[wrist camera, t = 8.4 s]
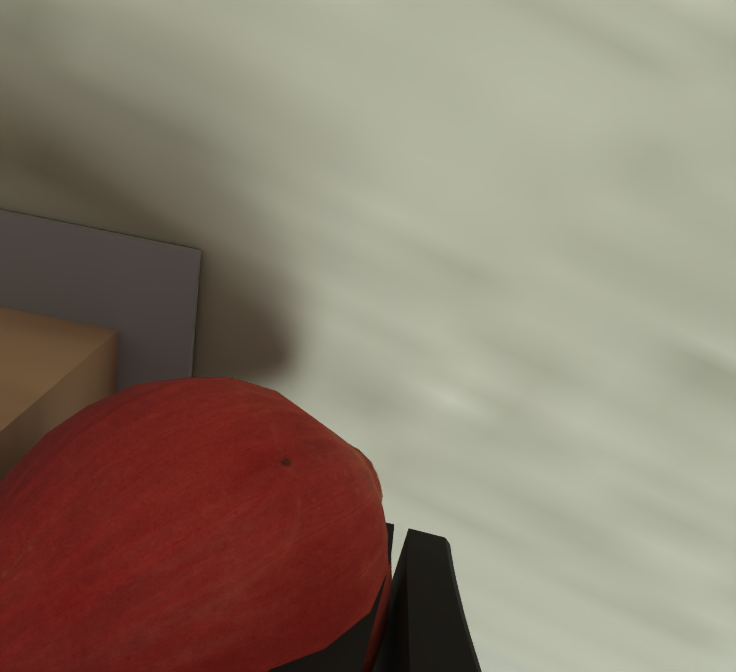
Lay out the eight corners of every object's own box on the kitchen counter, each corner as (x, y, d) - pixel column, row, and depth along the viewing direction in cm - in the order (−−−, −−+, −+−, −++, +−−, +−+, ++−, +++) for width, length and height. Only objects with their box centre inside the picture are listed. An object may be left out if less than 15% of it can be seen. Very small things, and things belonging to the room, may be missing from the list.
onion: (348, 635, 14) (-84, 982, 9) (229, 393, 15) (-237, 570, 9) (561, 596, 10) (-4, 1211, 5) (381, 266, 11) (-288, 446, 5)
